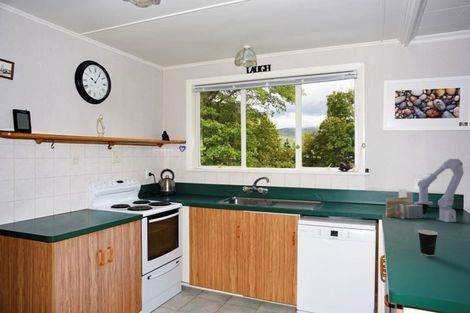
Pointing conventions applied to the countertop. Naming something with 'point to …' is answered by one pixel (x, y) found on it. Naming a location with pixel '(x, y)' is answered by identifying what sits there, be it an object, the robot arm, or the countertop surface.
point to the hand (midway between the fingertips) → (423, 214)
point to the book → (413, 211)
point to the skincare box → (406, 194)
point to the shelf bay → (396, 206)
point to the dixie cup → (427, 241)
